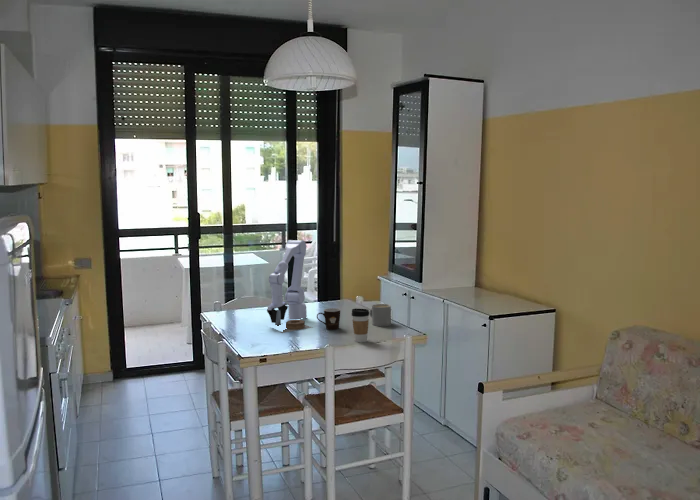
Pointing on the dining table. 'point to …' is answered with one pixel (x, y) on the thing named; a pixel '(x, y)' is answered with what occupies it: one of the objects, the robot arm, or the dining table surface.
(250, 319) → the dining table surface
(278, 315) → the dowel
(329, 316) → the coffee mug
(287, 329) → the mat
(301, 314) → the robot arm
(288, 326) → the faceted ring
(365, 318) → the coffee cup
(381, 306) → the coffee mug
